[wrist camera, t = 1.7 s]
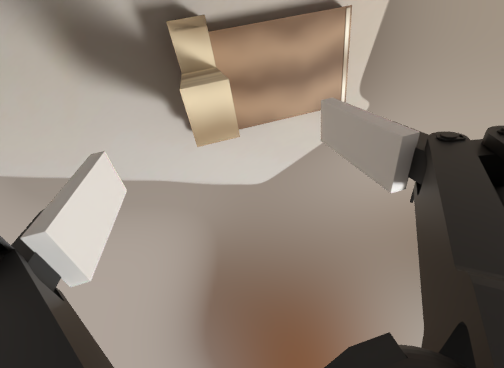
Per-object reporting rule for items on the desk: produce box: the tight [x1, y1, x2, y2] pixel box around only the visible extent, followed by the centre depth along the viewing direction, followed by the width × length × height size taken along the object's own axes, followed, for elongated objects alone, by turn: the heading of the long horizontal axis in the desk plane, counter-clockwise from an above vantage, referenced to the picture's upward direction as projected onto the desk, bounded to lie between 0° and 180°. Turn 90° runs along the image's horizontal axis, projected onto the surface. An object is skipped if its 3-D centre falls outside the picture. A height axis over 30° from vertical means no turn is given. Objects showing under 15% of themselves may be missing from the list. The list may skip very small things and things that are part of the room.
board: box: [208, 5, 352, 129], centre depth 31 cm, size 12×22×2 cm, turn 99°
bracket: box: [166, 15, 240, 147], centre depth 25 cm, size 12×4×13 cm, turn 9°
